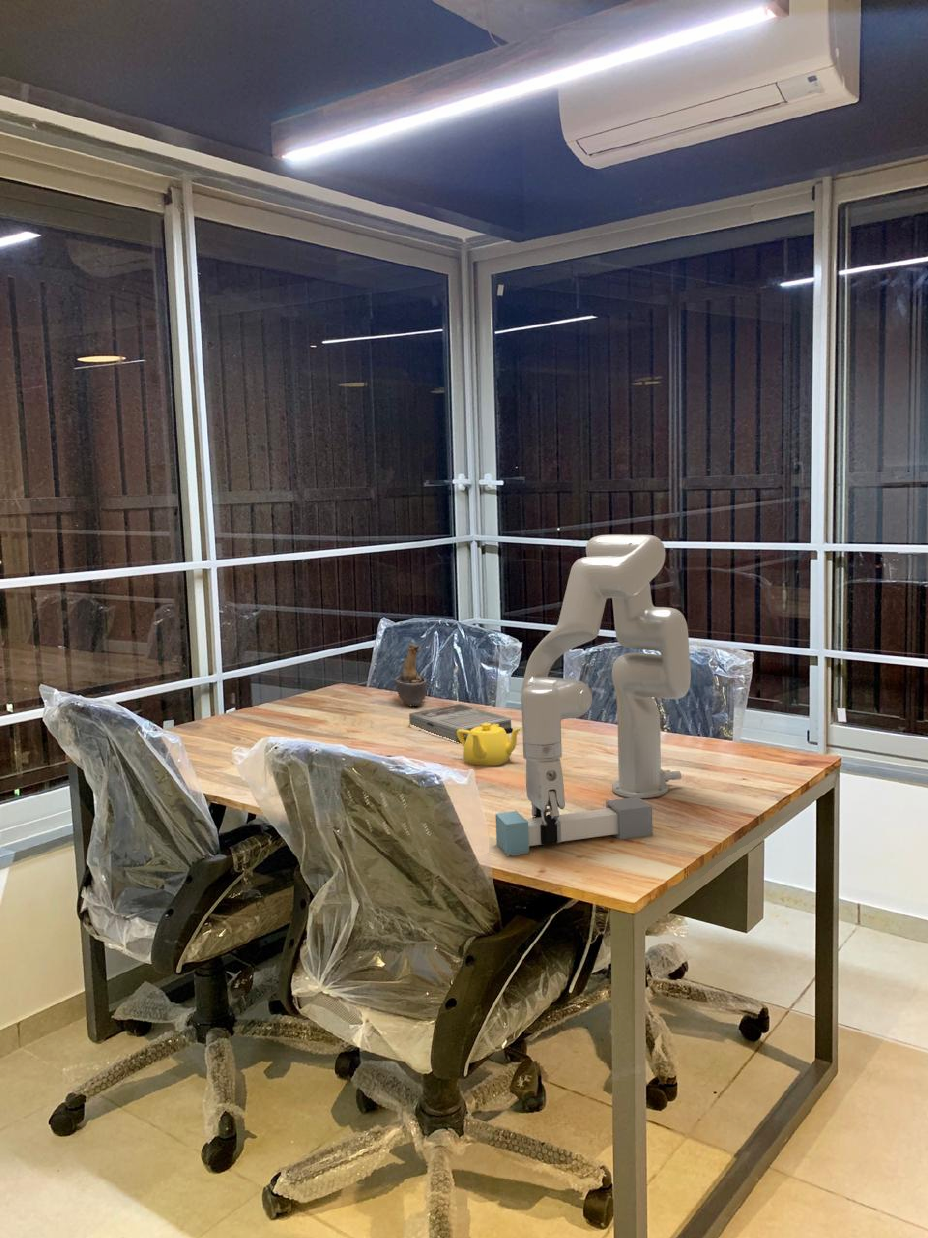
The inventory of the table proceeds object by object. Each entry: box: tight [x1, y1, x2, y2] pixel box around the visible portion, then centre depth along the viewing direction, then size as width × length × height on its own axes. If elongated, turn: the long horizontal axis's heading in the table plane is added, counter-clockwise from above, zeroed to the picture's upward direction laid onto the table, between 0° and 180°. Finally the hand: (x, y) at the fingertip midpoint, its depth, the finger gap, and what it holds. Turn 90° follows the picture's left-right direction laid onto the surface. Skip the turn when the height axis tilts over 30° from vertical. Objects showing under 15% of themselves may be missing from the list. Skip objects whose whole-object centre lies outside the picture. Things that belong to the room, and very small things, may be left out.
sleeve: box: [605, 797, 654, 841], centre depth 201 cm, size 7×7×6 cm
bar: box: [524, 808, 618, 847], centre depth 198 cm, size 24×4×4 cm, turn 105°
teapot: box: [457, 723, 522, 766], centre depth 256 cm, size 14×13×10 cm
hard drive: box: [408, 703, 514, 743], centre depth 291 cm, size 18×27×4 cm
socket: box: [495, 810, 530, 856], centre depth 195 cm, size 4×7×6 cm, turn 15°
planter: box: [394, 643, 428, 707], centre depth 325 cm, size 15×17×20 cm
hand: (545, 839), depth 197 cm, fingers closed on bar, 4 cm apart
